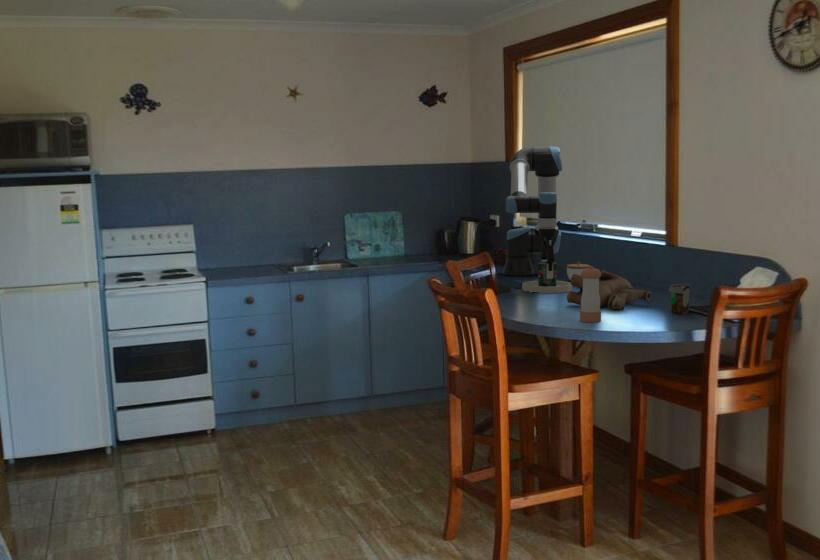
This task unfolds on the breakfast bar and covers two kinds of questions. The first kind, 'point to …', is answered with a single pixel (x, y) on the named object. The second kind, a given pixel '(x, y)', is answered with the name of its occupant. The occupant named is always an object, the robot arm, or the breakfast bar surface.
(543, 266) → the canned tomato
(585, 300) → the pepper shaker
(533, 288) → the round tray
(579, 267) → the lidded jar
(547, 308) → the breakfast bar surface
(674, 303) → the food container
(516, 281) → the breakfast bar surface
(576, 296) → the stuffed animal
